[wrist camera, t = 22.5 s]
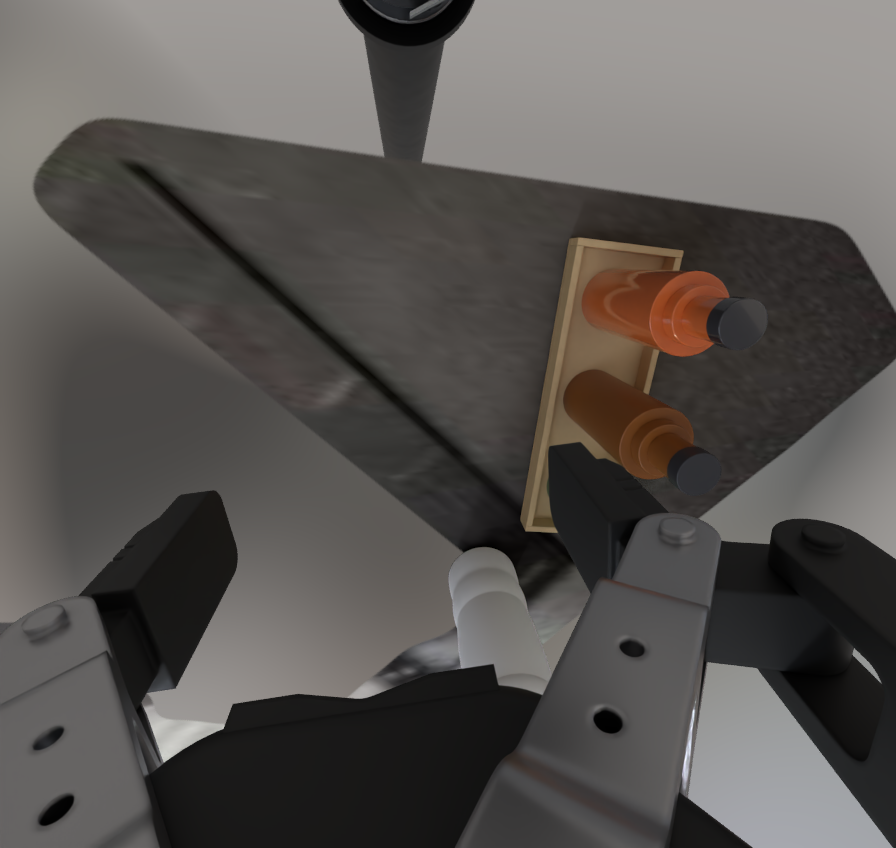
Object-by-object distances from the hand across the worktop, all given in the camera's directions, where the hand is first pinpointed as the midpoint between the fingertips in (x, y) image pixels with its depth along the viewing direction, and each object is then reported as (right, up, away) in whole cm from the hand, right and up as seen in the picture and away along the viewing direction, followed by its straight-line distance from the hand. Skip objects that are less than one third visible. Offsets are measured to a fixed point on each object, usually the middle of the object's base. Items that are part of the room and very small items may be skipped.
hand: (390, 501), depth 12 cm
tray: (+15, +5, +34) cm, 38 cm away
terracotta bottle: (+16, +13, +31) cm, 37 cm away
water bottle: (+5, -14, +40) cm, 42 cm away
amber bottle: (+15, +4, +34) cm, 37 cm away
